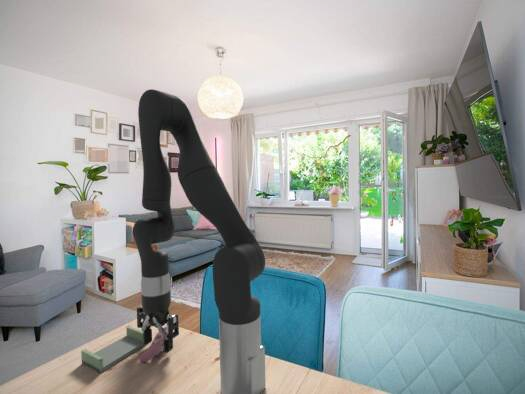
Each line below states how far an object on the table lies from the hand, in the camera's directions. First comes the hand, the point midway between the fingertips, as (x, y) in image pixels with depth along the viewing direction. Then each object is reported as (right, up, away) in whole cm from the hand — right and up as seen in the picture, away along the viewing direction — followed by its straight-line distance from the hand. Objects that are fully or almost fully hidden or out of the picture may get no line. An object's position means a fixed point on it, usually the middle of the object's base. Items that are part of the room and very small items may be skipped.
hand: (158, 346), depth 75 cm
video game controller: (0, -2, 0) cm, 1 cm away
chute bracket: (-11, -1, -1) cm, 11 cm away
